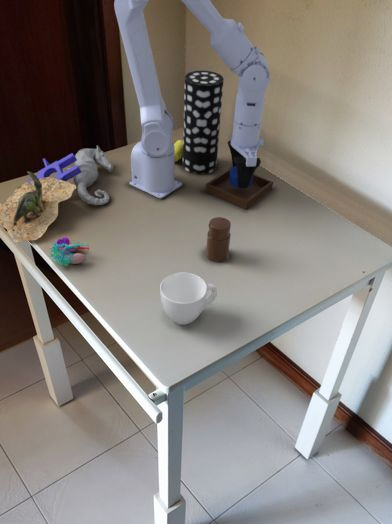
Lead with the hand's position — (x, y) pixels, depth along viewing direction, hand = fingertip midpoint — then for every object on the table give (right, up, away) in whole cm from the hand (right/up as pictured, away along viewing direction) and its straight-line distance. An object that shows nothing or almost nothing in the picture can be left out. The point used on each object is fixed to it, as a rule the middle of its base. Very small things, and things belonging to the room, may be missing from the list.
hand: (240, 180), depth 112 cm
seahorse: (-30, -7, -6) cm, 32 cm away
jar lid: (0, +1, -1) cm, 2 cm away
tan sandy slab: (-46, -6, -15) cm, 48 cm away
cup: (-11, -33, -26) cm, 43 cm away
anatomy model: (-30, -19, -18) cm, 40 cm away
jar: (-6, -20, -14) cm, 25 cm away
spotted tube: (-9, +6, +9) cm, 14 cm away
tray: (0, -2, +2) cm, 2 cm away
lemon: (-16, +12, +8) cm, 21 cm away
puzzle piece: (-41, -1, -4) cm, 41 cm away
